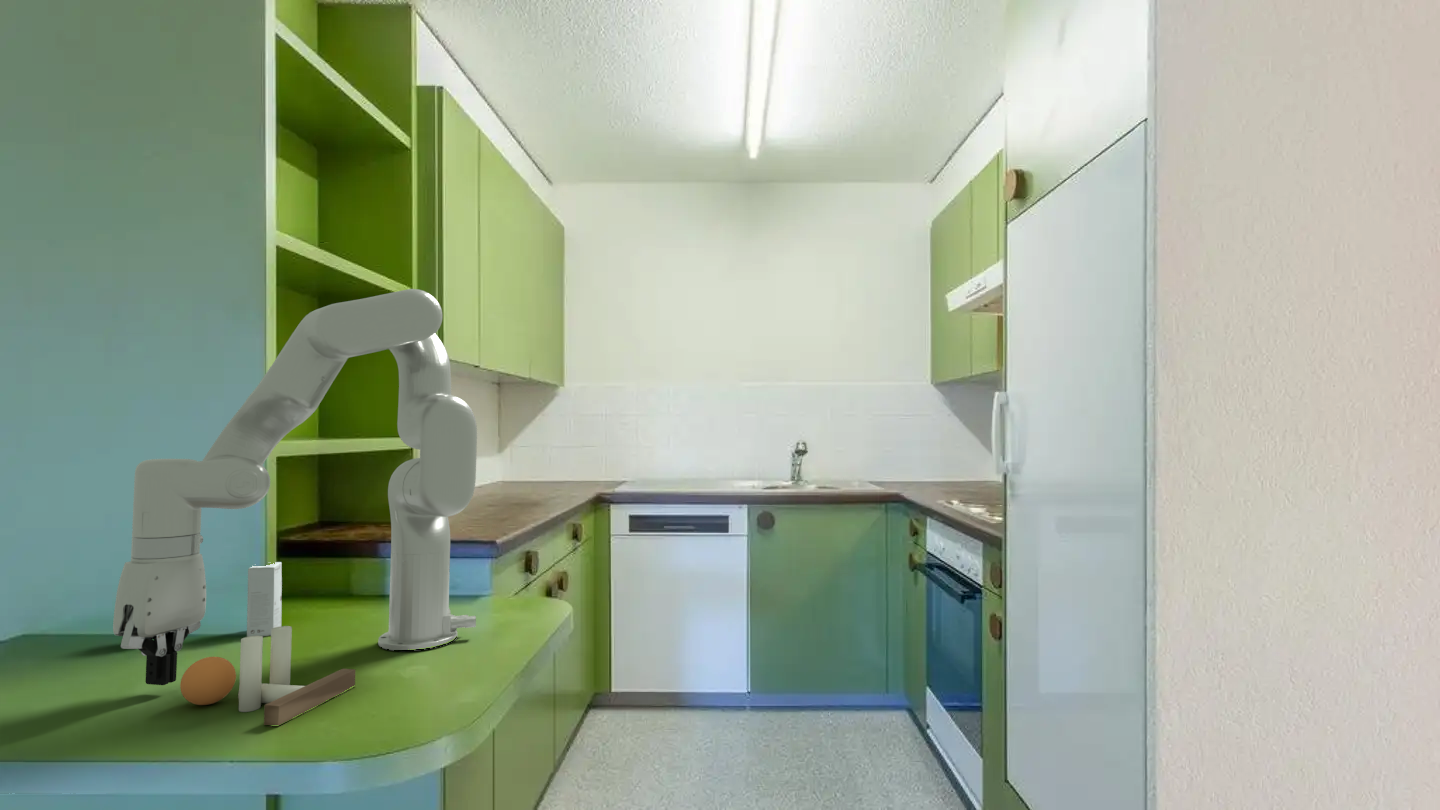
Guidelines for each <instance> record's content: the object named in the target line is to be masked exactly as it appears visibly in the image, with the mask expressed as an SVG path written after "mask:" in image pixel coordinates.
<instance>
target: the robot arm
mask: <svg viewBox="0 0 1440 810" xmlns="http://www.w3.org/2000/svg"><path fill="white" fill-rule="evenodd" d="M442 322H443V310H442V307H441V305H440V303H439V301H438V300H437V299H436V298H435V297H434V296H433V295H432V294H430V293H429V292H427V291H425V290H422V289H415V288H408V289H403V290H399V291H394V292H389V293H384V294H379V295H375V296H368V297H364V298H360V299H353V300H348V301H342V302H336V303H331V304H328V305H326V306H323V307H320V308H317V309H315V310H313V311H310V312H309V313H308V314H306V315H305V316H304V317H303V318H302V320H301V321H300V322H299V324H298V325H297V327H296V328H295V329H294V331H293V332H292V333H291V335H290V336H289V338H288V340H287V341H286V342H285V344H284V345H283V347H282V349H281V351H280V352H279V354H278V355H277V356H276V358H275V360H274V361H273V362H272V365H271V366H269V368H268V369H267V372H266V373H265V375H264V376H263V377H262V379H261V380H260V382H259V383H258V384H257V386H256V387H255V388H254V389H253V391H252V392H251V393H250V395H249V396H248V397H247V398H246V400H245V401H244V402H243V404H242V405H241V406H240V408H239V409H238V410H237V412H236V413H235V414H234V415H233V416H232V417H231V418H230V420H229V421H228V423H227V424H226V426H225V427H224V428H223V430H222V431H221V432H220V433H219V435H218V437H217V438H216V439H215V442H213V444H212V445H211V447H210V448H209V449H208V452H207V453H206V454H205V456H204V457H203V459H202V460H199V461H198V460H196V459H191V458H153V459H145V460H142V461H141V462H140V463H138V464H137V465H136V468H135V471H134V482H133V483H134V484H133V486H134V487H133V504H132V505H133V507H132V527H131V529H132V531H131V549H130V550H131V551H130V561H126V562H124V563H123V564H124V565H123V567H122V571H121V574H120V577H119V580H118V585H117V590H116V596H115V602H114V603H115V604H114V609H113V610H114V612H113V620H112V622H113V623H112V624H113V625H112V631H113V634H114V636H117V637H122V639H121V644H120V648H121V649H123V650H124V649H127V650H130V649H131V650H133V649H134V650H139V651H140V652H141V653H140V654H141V655H142V656H146V662H145V684H146V685H150V686H151V685H152V686H154V685H155V686H166V685H167V684H169V683H170V684H171V683H174V682H176V680H177V669H178V663H177V662H178V652H180V651H181V650H182V649H183V643H184V642H185V640H186V638H187V637H188V635H191V634H192V633H193V632H195V631H197V630H199V629H200V628H201V626H202V625H201V621H202V620H203V619H204V617H205V615H206V606H207V581H206V570H205V563H204V559H203V554H202V553H200V551H201V544H203V542H204V537H203V535H201V531H202V529H201V527H202V526H201V525H202V508H203V509H204V508H205V509H225V510H240V509H241V510H242V509H247V508H250V507H253V506H254V505H256V504H258V503H259V502H261V501H262V500H263V499H264V498H265V496H266V495H267V494H268V493H269V490H270V488H271V478H270V474H269V472H268V470H267V469H266V468H265V466H264V464H265V463H266V462H265V461H266V460H267V459H268V458H269V456H270V455H271V453H272V452H273V450H274V449H275V448H276V447H277V446H278V444H279V443H280V441H282V440H283V438H285V437H286V435H287V434H289V433H290V432H291V431H292V430H294V429H295V428H297V427H298V426H299V425H302V424H303V423H304V422H305V421H306V420H307V419H309V418H310V417H311V416H312V415H313V413H315V412H316V410H317V409H318V408H319V406H320V403H321V402H322V401H323V399H324V397H325V395H326V394H327V392H328V391H329V389H330V388H331V386H332V384H333V382H334V381H335V380H336V378H337V376H338V375H339V373H340V372H341V370H342V368H343V367H344V365H345V364H346V362H347V361H348V359H349V358H353V357H359V356H365V355H367V354H368V355H369V354H372V353H377V352H381V351H382V352H383V351H385V350H389V351H390V353H392V355H393V358H394V359H395V361H396V364H397V369H398V386H399V387H398V405H397V406H398V407H397V423H396V425H397V433H398V435H399V439H400V440H401V442H403V444H405V445H406V446H407V447H409V448H411V449H413V450H414V449H415V450H419V457H415V458H411V459H409V460H406V461H404V462H403V463H401V464H400V465H399V466H398V467H396V468H395V470H394V471H393V472H392V474H391V476H390V479H389V481H388V487H387V499H388V506H389V514H390V516H389V517H390V527H391V528H390V529H391V532H390V534H391V537H390V538H391V541H390V542H391V543H390V544H391V545H390V546H391V547H390V568H389V569H390V570H389V571H390V572H389V574H390V575H389V605H388V609H389V610H388V611H389V612H388V614H389V615H388V631H387V632H384V633H383V634H381V635H380V636H379V637H378V641H377V642H378V643H377V644H378V646H379V647H380V648H381V647H382V649H384V650H387V649H389V650H388V651H394V650H408V649H409V650H410V649H419V648H426V647H431V646H437V645H440V644H443V643H446V642H448V641H450V640H452V639H454V638H455V637H456V636H457V637H458V630H457V629H461V628H464V629H466V628H468V629H469V628H476V627H477V616H476V615H470V616H469V614H461V615H455V614H452V613H451V608H450V607H449V606H450V605H449V604H450V567H451V566H450V562H451V528H450V521H449V517H453V516H455V515H458V514H459V513H461V512H462V511H463V510H464V509H466V508H467V507H468V505H469V504H470V502H471V500H472V499H473V496H474V494H475V493H474V492H475V487H476V479H477V476H476V475H477V474H476V473H477V449H478V446H477V445H478V425H477V421H476V417H475V414H474V411H473V409H472V407H471V406H469V404H468V403H467V401H465V400H463V399H462V398H460V397H459V396H455V395H453V394H452V375H451V373H452V372H451V371H452V370H451V361H450V357H449V354H448V352H447V349H446V347H445V345H444V343H443V342H442V340H441V338H439V335H437V334H436V333H437V332H438V331H439V329H440V328H441V325H442Z"/></svg>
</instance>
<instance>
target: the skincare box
mask: <svg viewBox="0 0 1440 810" xmlns="http://www.w3.org/2000/svg"><path fill="white" fill-rule="evenodd" d="M274 562H275V564H274V563H273V564H270V565H266V566H253V565H251V566H252V567H251V566H250V567H248V569H247V600H246V601H247V605H246V606H247V609H246V611H247V613H246V614H247V615H246V618H247V619H246V637H249V636H263V637H268V636H269V637H271V629H273V628H275V627H280V626H282V614H283V613H282V611H283V610H282V608H283V607H282V606H283V605H282V602H283V601H282V593H283V592H282V591H283V589H282V588H283V586H282V585H283V577H282V575H283V574H282V572H283V571H282V568H283V567H282V564H283V563H282V561H274Z"/></svg>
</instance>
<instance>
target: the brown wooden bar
mask: <svg viewBox="0 0 1440 810" xmlns="http://www.w3.org/2000/svg"><path fill="white" fill-rule="evenodd" d="M354 685H355V686H356V669H353V668H342V669H339V670H336V671H334V672H332V673H330V674H328V675H326V676H324V677H322V678H320V679H317V680H315V681H313V682H311V683H309V684H306V685H303V686H304V687H302V688H300V689H298V690H296V691H294V692H291V693H289V694H287V695H285V696H283V697H281V698H279V699H276V700H274V701H272V702H270V703H265V704H264V706H263V707H264V709H263V711H264V712H263V726H264V725H280V724H282V723H284V722H286V721H288V720H290V719H292V718H293V717H295V716H297V715H299V714H301V713H304V712H305V711H307V710H309V709H311V708H313V707H315V706H317V705H319V704H321V703H323V702H325V701H326V700H328V699H330V698H332V697H334V696H336V695H338V694H340V693H342V692H344V691H345V690H347V689H349V688H350V687H352V686H354ZM304 714H305V713H304Z"/></svg>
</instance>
